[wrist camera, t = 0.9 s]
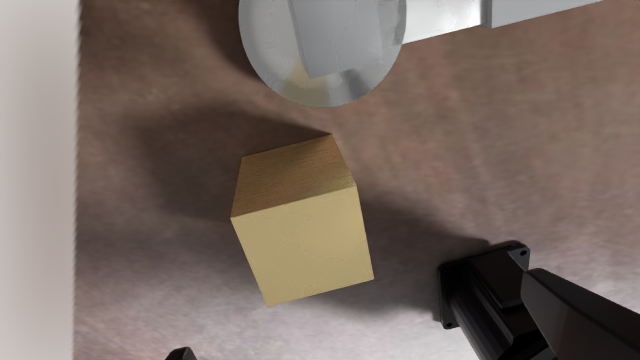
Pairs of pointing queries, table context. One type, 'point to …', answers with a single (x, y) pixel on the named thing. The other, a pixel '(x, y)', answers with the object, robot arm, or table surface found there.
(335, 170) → the wooden toy block
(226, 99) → the table surface
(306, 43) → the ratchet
